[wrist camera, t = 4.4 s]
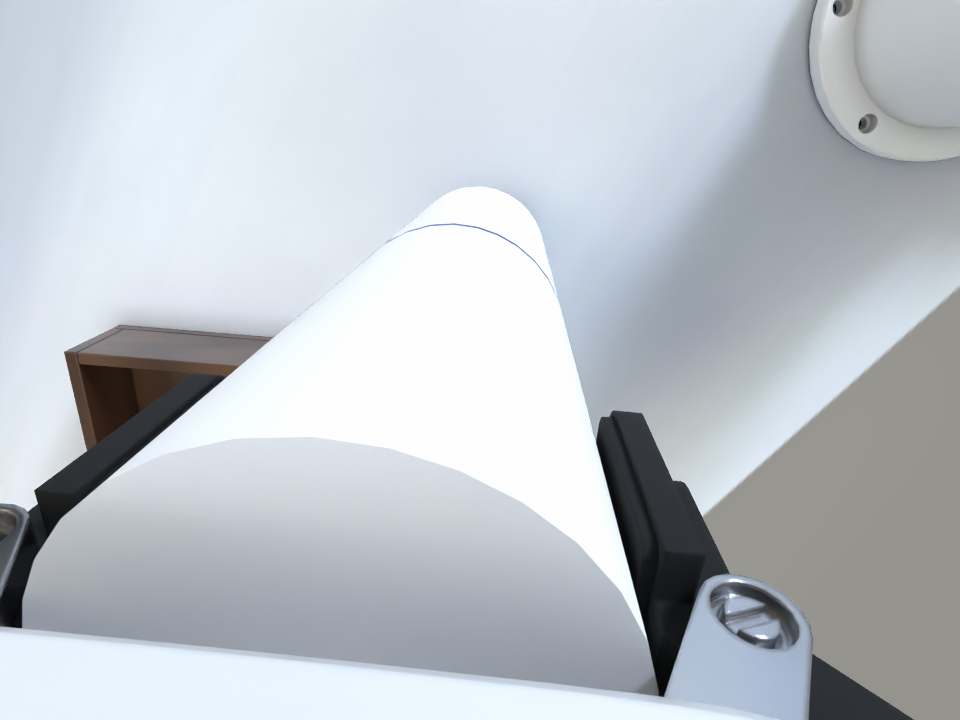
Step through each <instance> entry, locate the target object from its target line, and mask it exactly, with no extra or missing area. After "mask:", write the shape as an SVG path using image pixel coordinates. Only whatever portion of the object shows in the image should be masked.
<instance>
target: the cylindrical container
mask: <svg viewBox="0 0 960 720" xmlns="http://www.w3.org/2000/svg"><path fill="white" fill-rule="evenodd" d="M22 629H32V630H42V631H53V632H63V633H73V634H84V635H94V636H104V637H115V638H125V639H135V640H145V641H156V642H166V643H176V644H186V645H196V646H206V647H216V648H225V649H235V650H245V651H255V652H265V653H274V654H284V655H294V656H303V657H313V658H323V659H332V660H342V661H351V662H361V663H370V664H380V665H389V666H399V667H408V668H417V669H426V670H435V671H444V672H454V673H463V674H472V675H481V676H490V677H499V678H508V679H518V680H527V681H536V682H545V683H554V684H562V685H570V686H578V687H586V688H594V689H603V690H612V691H622V692H630V693H638V694H645V695H652V696H658V693H659V691H658V686H657V682H656V677H655V672H654V668H653V663H652V658H651V654H650V649H649V644H648V640H647V636H646V632H645V629H644V625H643V621H642V617H641V613H640V609H639V606H638V602H637V598H636V594H635V590H634V586H633V583H632V579H631V575H630V571H629V567H628V564H627V560H626V556H625V552H624V548H623V544H622V541H621V537H620V533H619V529H618V525H617V521H616V518H615V514H614V510H613V506H612V502H611V498H610V495H609V491H608V487H607V483H606V479H605V475H604V472H603V468H602V464H601V460H600V456H599V452H598V449H597V445H596V441H595V437H594V433H593V429H592V426H591V422H590V418H589V414H588V410H587V406H586V403H585V399H584V395H583V391H582V388H581V384H580V380H579V376H578V372H577V369H576V365H575V361H574V357H573V354H572V350H571V346H570V342H569V338H568V335H567V331H566V327H565V323H564V319H563V316H562V312H561V308H560V304H559V301H558V297H557V293H556V289H555V285H554V281H553V277H552V274H551V270H550V266H549V262H548V258H547V255H546V251H545V247H544V243H543V239H542V236H541V232H540V230H539V228H538V226H537V223H536V221H535V219H534V218H533V217H532V215H531V214H530V212H529V211H528V210H527V208H526V207H524V206H523V205H522V204H521V203H520V202H519V201H518V200H517V199H515V198H513V197H512V196H510V195H508V194H507V193H505V192H502V191H499V190H496V189H494V188H487V187H481V186H477V187H465V188H461V189H457V190H454V191H451V192H449V193H447V194H445V195H444V196H442V197H440V198H438V199H437V200H436V201H435V202H434V203H432V204H431V205H430V206H429V207H428V208H426V209H425V210H424V211H423V212H422V213H420V214H419V215H418V216H417V217H416V218H414V219H413V220H412V221H411V222H410V223H408V224H407V225H406V226H405V227H404V228H403V229H401V230H400V231H399V232H398V233H397V234H396V235H395V236H393V237H392V238H391V239H390V240H389V241H388V242H386V243H385V244H384V245H383V246H382V247H381V248H379V249H378V250H377V251H376V252H375V253H373V254H372V255H371V256H370V257H369V258H367V259H366V260H365V261H364V262H363V263H361V264H360V265H359V266H358V267H357V268H355V269H354V270H353V271H352V272H351V273H349V274H348V275H347V276H346V277H345V278H344V279H342V280H341V281H340V282H339V283H338V284H336V285H335V286H334V287H333V288H332V289H330V290H329V291H328V292H327V293H326V294H324V295H323V296H322V297H321V298H320V299H318V300H317V301H316V302H315V303H314V304H312V305H311V306H310V307H309V308H308V309H306V310H305V311H304V312H303V313H302V314H300V315H299V316H298V317H297V318H296V319H295V320H293V321H292V322H291V323H290V324H289V325H288V326H286V327H285V328H284V329H283V330H282V331H280V332H279V333H278V334H277V335H276V336H275V337H273V338H272V339H271V340H270V341H269V342H268V343H266V344H265V345H264V346H263V347H262V348H261V349H259V350H258V351H257V352H256V353H255V354H253V355H252V356H251V357H250V358H249V359H248V360H246V361H245V362H244V363H243V364H242V365H241V366H239V367H238V368H237V369H236V370H235V371H234V372H232V373H231V374H230V375H229V376H228V377H226V378H225V379H224V380H223V381H222V382H221V383H219V384H218V385H217V386H216V387H215V388H214V389H212V390H211V391H210V392H209V393H208V394H207V395H205V396H204V397H203V398H202V399H201V400H199V401H198V402H197V403H196V404H195V405H194V406H192V407H191V408H190V409H189V410H188V411H187V412H185V413H184V414H183V415H182V416H181V417H180V418H178V419H177V420H176V421H175V422H174V423H173V424H171V425H170V426H169V427H168V428H167V429H165V430H164V431H163V432H162V433H161V434H160V435H158V436H157V437H156V438H155V439H154V440H153V441H151V442H150V443H149V444H148V445H147V446H146V447H144V448H143V449H142V450H141V451H140V452H138V453H137V454H136V455H135V456H134V457H133V458H131V459H130V460H129V461H128V462H127V463H126V464H124V465H123V466H122V467H121V468H120V469H119V470H117V471H116V472H115V473H114V474H113V475H111V476H110V477H109V478H108V479H107V480H106V481H104V482H103V483H102V484H101V485H100V486H99V487H97V488H96V489H95V490H94V491H93V492H92V493H90V494H89V495H88V496H87V497H86V498H84V499H83V500H82V501H81V502H80V503H79V504H77V505H76V506H75V507H74V508H73V509H72V510H70V511H69V512H68V513H67V514H66V515H65V516H63V517H62V518H61V519H60V520H59V522H58V523H57V525H56V527H55V528H54V530H53V531H52V533H51V534H50V536H49V537H48V539H47V540H46V542H45V543H44V545H43V547H42V548H41V550H40V551H39V553H38V554H37V556H36V557H35V559H34V561H33V565H32V568H31V572H30V575H29V579H28V582H27V586H26V589H25V593H24V596H23V600H22Z"/></svg>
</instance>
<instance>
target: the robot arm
mask: <svg viewBox="0 0 960 720" xmlns="http://www.w3.org/2000/svg"><path fill="white" fill-rule="evenodd" d="M833 4H835V5H836V7H837V11H836V13H835V14H834V12H833ZM809 53H810V73H811V77H812V81H813V85H814V89H815V94H816V97H817V99H818V101H819V103H820V105H821V107H822V109H823V111H824V113H825V116H826V118H827V119H828V120H829V121H830V122H831V124H832V125H833V126H834V127H835V129H836V130H837V131H838V132H839V133H840V135H842V136H843V137H844V138H846V139H847V140H848V141H849V142H851V143H852V144H853V145H855V146H856V147H857V148H859V149H862V150H864V151H866V152H869V153H871V154H873V155H876V156H878V157H883V158H888V159H894V160H899V161H920V162H926V161H935V160H943V159H950V158H954V157H957V156H960V0H818V1H817V4H816V8H815V11H814V14H813V20H812V27H811V35H810V42H809ZM860 120H861V126H860V128H858V127H859V122H860ZM224 379H225V377H224V376H222V375H211V374H200V373H192V374H190V375H189V376H187V377H186V378H185V379H183V380H182V381H181V382H179V383H178V384H177V385H175V386H174V387H173V388H171V389H170V390H169V391H167V392H166V393H165V394H163V395H162V396H161V397H159V398H158V399H156V400H155V401H154V402H152V403H151V404H150V405H148V406H147V407H146V408H144V409H143V410H142V411H140V412H139V413H138V414H136V415H135V416H134V417H132V418H131V419H130V420H128V421H127V422H126V423H124V424H123V425H122V426H120V427H119V428H118V429H116V430H115V431H113V432H112V433H111V434H109V435H108V436H107V437H105V438H104V439H103V440H101V441H100V442H99V443H97V444H96V445H95V446H93V447H92V448H91V449H89V450H88V451H87V452H85V453H84V454H83V455H81V456H80V457H79V458H77V459H76V460H75V461H73V462H72V463H71V464H69V465H68V466H66V467H65V468H64V469H62V470H61V471H60V472H58V473H57V474H56V475H54V476H53V477H52V478H50V479H49V480H48V481H46V482H45V483H44V484H42V485H41V486H40V487H38V488H37V489H36V490H34V491H35V495H36V498H37V502H38V504H37V505H36V506H35V507H33V508H32V509H31V510H30V511H28V512H27V511H26V510H25V509H24V508H22V507H19V506H17V505H13V504H1V503H0V720H913V719H912V718H910V717H909V716H907V715H906V714H904V713H902V712H901V711H900V710H898V709H896V708H895V707H893V706H892V705H890V704H889V703H887V702H886V701H884V700H883V699H881V698H880V697H878V696H877V695H875V694H873V693H872V692H870V691H869V690H867V689H865V688H864V687H863V686H861V685H860V684H858V683H856V682H855V681H853V680H852V679H850V678H849V677H847V676H846V675H844V674H842V673H841V672H839V671H838V670H836V669H835V668H833V667H832V666H830V665H829V664H827V663H826V662H824V661H822V660H821V659H819V658H818V657H816V656H815V655H813V654H812V649H813V636H812V631H811V626H810V624H809V623H808V621H807V619H806V617H805V616H804V614H803V612H801V610H800V609H799V608H798V607H797V606H796V605H795V604H794V603H793V602H792V601H791V600H790V599H789V598H787V597H786V596H785V595H783V594H782V593H781V592H779V591H778V590H777V589H775V588H773V587H771V586H769V585H767V584H765V583H763V582H761V581H759V580H755V579H752V578H749V577H746V576H742V575H732V574H730V573H729V571H728V569H727V567H726V565H725V563H724V561H723V559H722V557H721V555H720V553H719V551H718V549H717V546H716V544H715V543H714V540H713V538H712V536H711V534H710V532H709V530H708V528H707V526H706V524H705V522H704V520H703V518H702V516H701V514H700V512H699V510H698V508H697V505H696V503H695V501H694V499H693V497H692V495H691V493H690V491H689V489H688V487H687V486H686V484H685V483H683V482H681V481H673V480H672V478H671V476H670V474H669V471H668V469H667V467H666V465H665V463H664V460H663V458H662V456H661V454H660V452H659V449H658V447H657V445H656V443H655V441H654V438H653V436H652V434H651V432H650V430H649V427H648V425H647V423H646V421H645V419H644V416H643V415H642V413H634V412H622V411H612V412H611V415H610V417H601V419H600V423H599V428H598V434H597V439H596V445H597V449H598V452H599V456H600V460H601V464H602V468H603V472H604V475H605V479H606V483H607V487H608V491H609V495H610V498H611V502H612V506H613V510H614V514H615V518H616V521H617V525H618V529H619V533H620V537H621V541H622V544H623V548H624V552H625V556H626V560H627V564H628V567H629V571H630V575H631V579H632V583H633V586H634V590H635V594H636V598H637V602H638V606H639V609H640V613H641V617H642V621H643V625H644V629H645V632H646V636H647V640H648V644H649V649H650V654H651V658H652V663H653V668H654V672H655V677H656V682H657V686H658V691H659V693H658V696H652V695H645V694H638V693H630V692H622V691H612V690H603V689H594V688H586V687H578V686H570V685H562V684H554V683H545V682H536V681H527V680H518V679H508V678H499V677H490V676H481V675H472V674H463V673H454V672H444V671H435V670H426V669H417V668H408V667H399V666H389V665H380V664H370V663H361V662H351V661H342V660H332V659H323V658H313V657H303V656H294V655H284V654H274V653H265V652H255V651H245V650H235V649H225V648H216V647H206V646H196V645H186V644H176V643H166V642H156V641H145V640H135V639H125V638H115V637H104V636H94V635H84V634H73V633H63V632H53V631H42V630H32V629H22V600H23V596H24V593H25V589H26V586H27V582H28V579H29V575H30V572H31V568H32V565H33V561H34V559H35V557H36V556H37V554H38V553H39V551H40V550H41V548H42V547H43V545H44V543H45V542H46V540H47V539H48V537H49V536H50V534H51V533H52V531H53V530H54V528H55V527H56V525H57V523H58V522H59V520H60V519H61V518H62V517H63V516H65V515H66V514H67V513H68V512H69V511H70V510H72V509H73V508H74V507H75V506H76V505H77V504H79V503H80V502H81V501H82V500H83V499H84V498H86V497H87V496H88V495H89V494H90V493H92V492H93V491H94V490H95V489H96V488H97V487H99V486H100V485H101V484H102V483H103V482H104V481H106V480H107V479H108V478H109V477H110V476H111V475H113V474H114V473H115V472H116V471H117V470H119V469H120V468H121V467H122V466H123V465H124V464H126V463H127V462H128V461H129V460H130V459H131V458H133V457H134V456H135V455H136V454H137V453H138V452H140V451H141V450H142V449H143V448H144V447H146V446H147V445H148V444H149V443H150V442H151V441H153V440H154V439H155V438H156V437H157V436H158V435H160V434H161V433H162V432H163V431H164V430H165V429H167V428H168V427H169V426H170V425H171V424H173V423H174V422H175V421H176V420H177V419H178V418H180V417H181V416H182V415H183V414H184V413H185V412H187V411H188V410H189V409H190V408H191V407H192V406H194V405H195V404H196V403H197V402H198V401H199V400H201V399H202V398H203V397H204V396H205V395H207V394H208V393H209V392H210V391H211V390H212V389H214V388H215V387H216V386H217V385H218V384H219V383H221V382H222V381H223V380H224Z"/></svg>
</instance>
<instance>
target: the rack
mask: <svg viewBox="0 0 960 720" xmlns="http://www.w3.org/2000/svg"><path fill="white" fill-rule="evenodd" d="M271 339H272V338H270V337H258V336H246V335H234V334H222V333H210V332H197V331H185V330H173V329H161V328H149V327H136V326H124V325H118V326H116V327H114V328H113V329H110V330H108V331H106V332H104V333H102V334H100V335H98V336H96V337H94V338H92V339H90V340H88V341H86V342H84V343H82V344H79V345H77V346H75V347H73V348H71V349H69V350H67V351H65V352H64V354H65V358H66V362H67V367H68V371H69V375H70V380H71V384H72V388H73V392H74V397H75V401H76V405H77V410H78V414H79V418H80V423H81V427H82V431H83V435H84V440H85V444H86V448H87V451H88V450H89V449H91V448H92V447H93V446H95V445H96V444H97V443H99V442H100V441H101V440H103V439H104V438H105V437H107V436H108V435H109V434H111V433H112V432H113V431H115V430H116V429H118V428H119V427H120V426H122V425H123V424H124V423H126V422H127V421H128V420H130V419H131V418H132V417H134V416H135V415H136V414H138V413H139V412H140V411H142V410H143V409H144V408H146V407H147V406H148V405H150V404H151V403H152V402H154V401H155V400H156V399H158V398H159V397H161V396H162V395H163V394H165V393H166V392H167V391H169V390H170V389H171V388H173V387H174V386H175V385H177V384H178V383H179V382H181V381H182V380H183V379H185V378H186V377H187V376H189V375H190V374H192V373H200V374H211V375H222V376H224V377H225V378H226V377H228V376H229V375H230V374H231V373H232V372H234V371H235V370H236V369H237V368H238V367H239V366H241V365H242V364H243V363H244V362H245V361H246V360H248V359H249V358H250V357H251V356H252V355H253V354H255V353H256V352H257V351H258V350H259V349H261V348H262V347H263V346H264V345H265V344H266V343H268V342H269V341H270V340H271Z"/></svg>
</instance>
